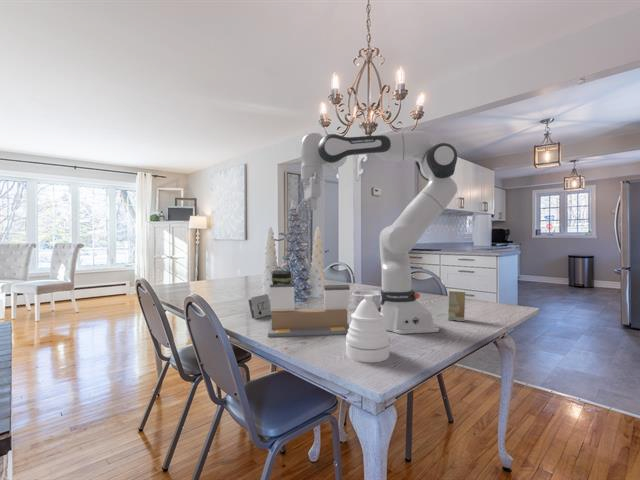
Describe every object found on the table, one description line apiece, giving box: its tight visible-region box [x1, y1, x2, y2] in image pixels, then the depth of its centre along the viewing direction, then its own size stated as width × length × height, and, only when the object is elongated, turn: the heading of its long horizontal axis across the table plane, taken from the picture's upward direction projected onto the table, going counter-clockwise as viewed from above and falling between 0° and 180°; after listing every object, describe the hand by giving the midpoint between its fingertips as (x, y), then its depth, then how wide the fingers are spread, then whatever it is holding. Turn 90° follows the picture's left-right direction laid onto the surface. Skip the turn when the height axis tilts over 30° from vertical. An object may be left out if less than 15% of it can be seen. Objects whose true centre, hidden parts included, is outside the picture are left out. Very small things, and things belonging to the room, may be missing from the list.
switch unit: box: [267, 307, 350, 338], centre depth 124 cm, size 30×14×7 cm, turn 96°
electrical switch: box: [248, 294, 272, 320], centre depth 146 cm, size 9×5×9 cm, turn 141°
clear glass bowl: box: [351, 289, 381, 310], centre depth 156 cm, size 15×15×8 cm
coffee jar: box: [271, 269, 293, 285], centre depth 159 cm, size 10×8×19 cm
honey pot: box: [345, 295, 390, 363], centre depth 99 cm, size 13×13×18 cm
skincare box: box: [447, 288, 466, 322], centre depth 136 cm, size 6×4×12 cm
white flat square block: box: [323, 284, 351, 310], centre depth 123 cm, size 9×2×9 cm, turn 96°
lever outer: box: [269, 283, 296, 311], centre depth 125 cm, size 9×2×9 cm, turn 96°
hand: (312, 210), depth 132 cm, fingers open, 8 cm apart
